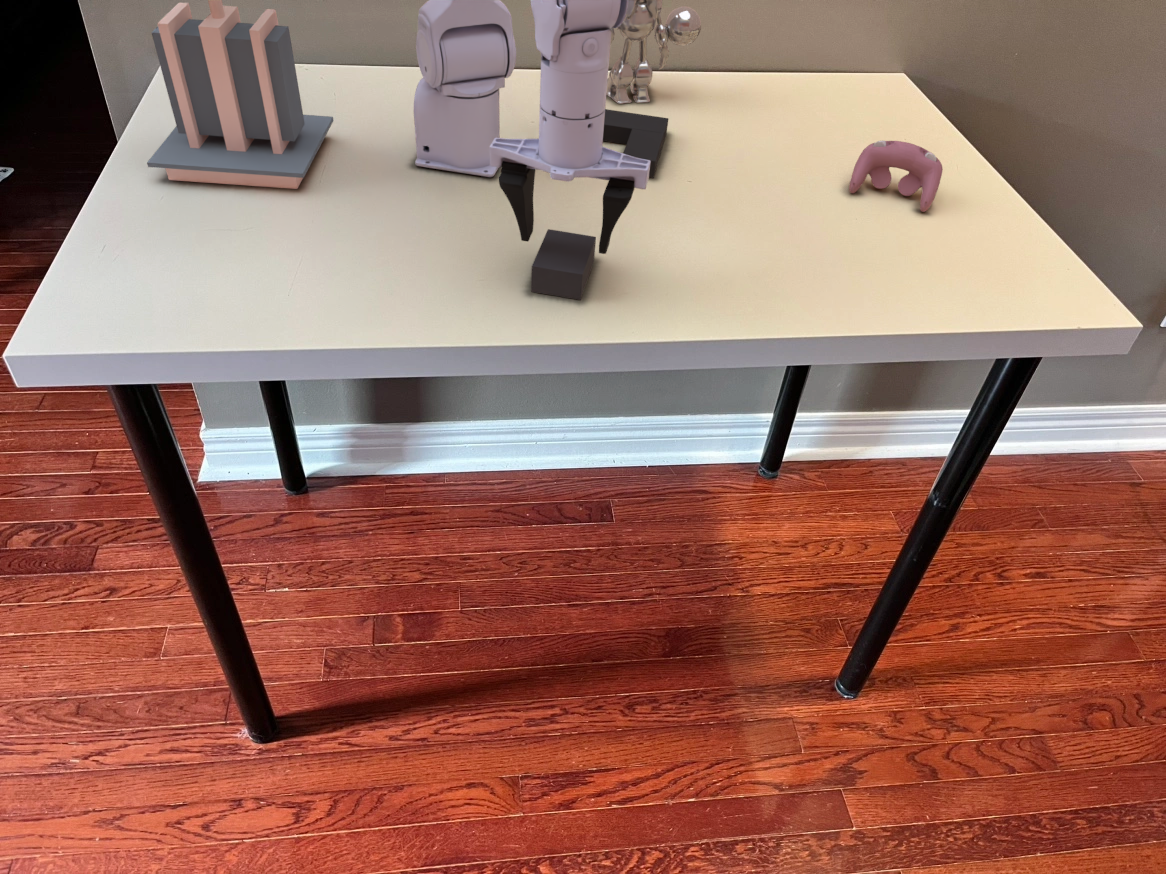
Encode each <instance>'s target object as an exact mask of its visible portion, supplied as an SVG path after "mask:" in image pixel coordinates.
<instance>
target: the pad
mask: <svg viewBox="0 0 1166 874" xmlns="http://www.w3.org/2000/svg"><path fill="white" fill-rule="evenodd" d="M596 242H597V236H593V235H586V234H581V233H574V232H569V231H562V230H556V229H549V228H548V229H547V230H546V233H545V235H544V237H543V240H542V241H541V244H540V246H539V249H538V251H537V253H536V256H535V258H534V260H533V263H532V265H531V279H530V280H531V283H530V292H531V293H536V294H542V295H548V296H554V297H561V298H567V299H573V300H579V301H581V300H582V297H583V295H584V292H585V289H586V286H587V283H588V280H589V277H590V274H591V271H592V269H593V267H594V264H595V255H596V244H597V243H596Z"/></svg>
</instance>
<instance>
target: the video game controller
mask: <svg viewBox="0 0 1166 874" xmlns="http://www.w3.org/2000/svg"><path fill="white" fill-rule="evenodd" d="M890 168H894V169H899V170H900V169H901V170H904V171H906V172H908V173H907V174H905V175H904V176H902V177H901V178H900V179H899V181H898V183H897V190H898V192H899V193H900V194H901V195H902V196H904V197H910V196H912V195H914V194H915V193H916V192H917V191H918V190H919V189H920V188H921V191H922V192H921V196H920V203H919V210H920V212H921V213H922V212H923V213H924V212H927V211H928V210H929V209H930V207H931V206H932V204H933V202H934V200H935V198H936V195H937V192H938V191H939V187H940V184H941V180H942V176H943V175H942V174H943V164H942V162H941V160H940V159H939V158H938V157H937V156H936V155H935V154H934V153H933V152H931V151H929V150H928V149H926V148H924V147H922V146H920V145H917V144H915V143H911V142H907V141H901V140H878V141H876V142H872V143H870V144H868V145H867V146H866V147H864V149H863V150H862V151H861V152H860V155H859V156H858V158H857V160H856V162H855V164H854V167H853V171H852V172H851V173H852V174H851V177H850V180H849V184H848V190H849V193H851V194H855V193H857V192H858V191H859V189H861V187H862V185H863V184H864V182H865V180H866V179H867V177H868V175H869V177H870V179H871V180H870V181H871V184H872V186H873V187H874V188H876V189H879V190H882V189H885V188H887V187H889V186H890V184H891V183H892V173H891V171H890Z"/></svg>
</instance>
